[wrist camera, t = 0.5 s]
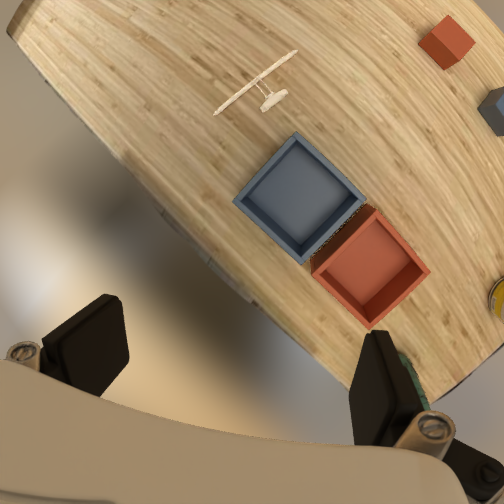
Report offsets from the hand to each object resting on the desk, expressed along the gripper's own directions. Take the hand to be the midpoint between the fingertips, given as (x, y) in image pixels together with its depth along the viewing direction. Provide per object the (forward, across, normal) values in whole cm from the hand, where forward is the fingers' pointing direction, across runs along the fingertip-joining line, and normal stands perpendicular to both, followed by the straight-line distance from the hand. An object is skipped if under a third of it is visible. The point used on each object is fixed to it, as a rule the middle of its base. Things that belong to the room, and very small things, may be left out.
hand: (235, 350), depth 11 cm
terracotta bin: (+29, -11, +4) cm, 32 cm away
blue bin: (+29, -2, -3) cm, 30 cm away
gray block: (+29, -30, -19) cm, 46 cm away
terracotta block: (+29, -20, -27) cm, 45 cm away
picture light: (+30, +3, -16) cm, 34 cm away
